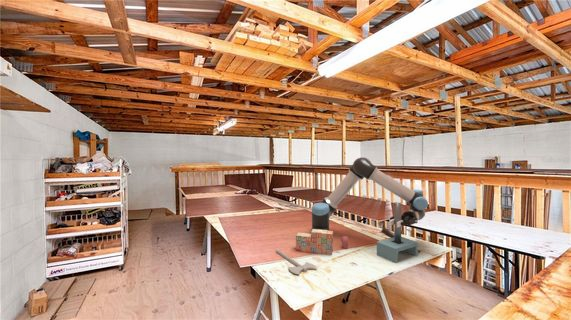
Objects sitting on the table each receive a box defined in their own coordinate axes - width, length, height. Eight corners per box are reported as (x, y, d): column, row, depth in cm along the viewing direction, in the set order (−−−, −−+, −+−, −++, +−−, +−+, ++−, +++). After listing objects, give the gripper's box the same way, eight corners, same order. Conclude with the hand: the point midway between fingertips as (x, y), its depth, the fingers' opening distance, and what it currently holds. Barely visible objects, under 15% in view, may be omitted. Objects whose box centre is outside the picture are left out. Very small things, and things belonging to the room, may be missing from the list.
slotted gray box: (420, 258, 142) (420, 250, 141) (416, 258, 141) (417, 250, 141) (382, 231, 180) (383, 225, 180) (380, 232, 180) (380, 225, 180)
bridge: (395, 262, 127) (395, 248, 127) (376, 254, 138) (376, 241, 137) (417, 255, 137) (418, 242, 137) (398, 248, 148) (398, 235, 147)
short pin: (342, 248, 147) (342, 238, 147) (340, 246, 150) (340, 236, 150) (348, 248, 147) (348, 237, 147) (346, 246, 151) (346, 236, 150)
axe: (266, 255, 138) (266, 251, 138) (287, 250, 145) (287, 246, 145) (296, 278, 112) (296, 273, 112) (319, 270, 120) (319, 266, 120)
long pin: (396, 246, 135) (396, 203, 135) (393, 243, 139) (393, 202, 138) (402, 245, 136) (402, 203, 135) (398, 243, 139) (399, 202, 139)
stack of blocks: (295, 250, 144) (295, 230, 143) (298, 247, 150) (298, 227, 149) (332, 255, 137) (332, 233, 137) (333, 251, 143) (333, 230, 143)
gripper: (425, 225, 143) (409, 234, 127) (396, 220, 155) (379, 227, 140) (425, 213, 143) (409, 220, 127) (396, 208, 155) (379, 214, 140)
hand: (393, 224), depth 133 cm, fingers closed on long pin, 4 cm apart
